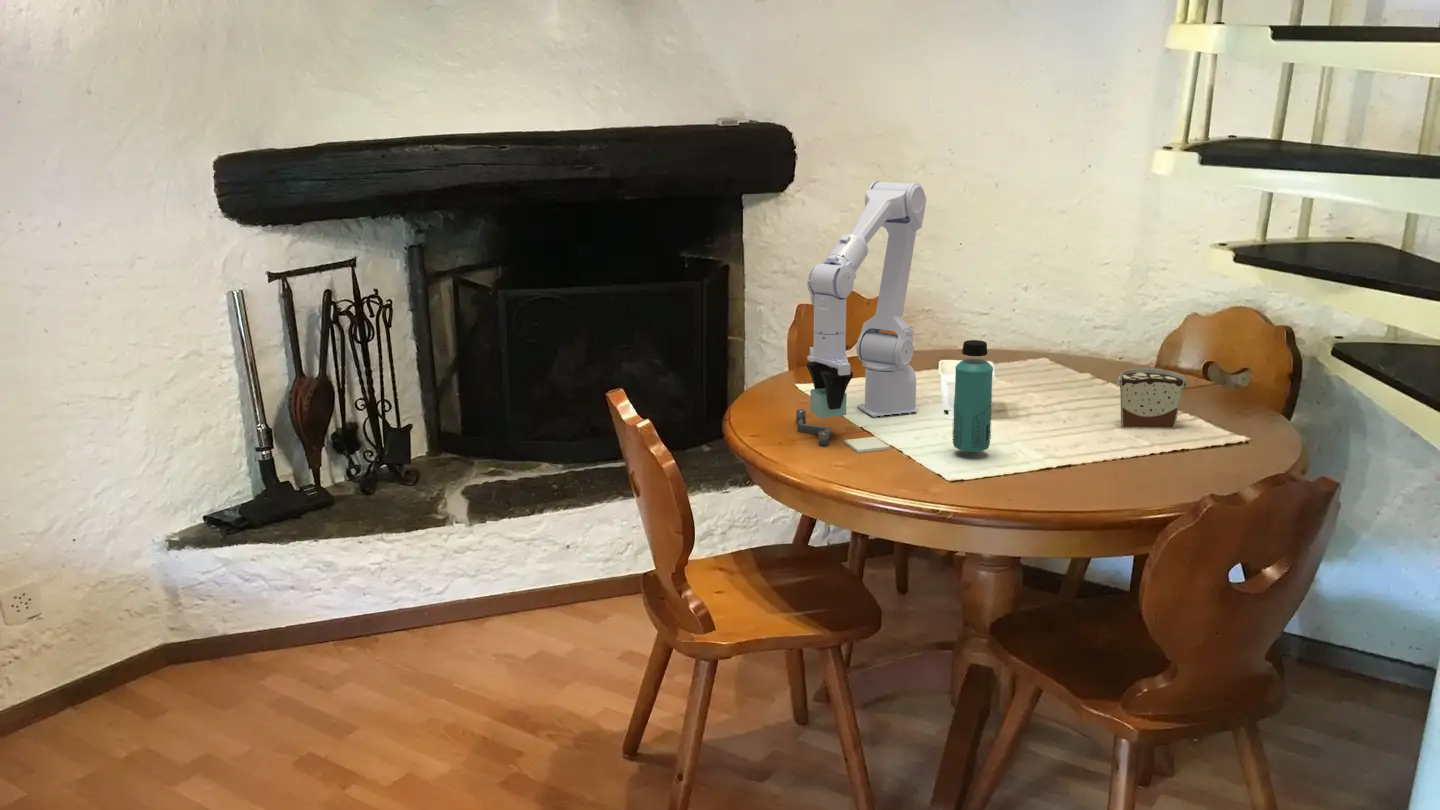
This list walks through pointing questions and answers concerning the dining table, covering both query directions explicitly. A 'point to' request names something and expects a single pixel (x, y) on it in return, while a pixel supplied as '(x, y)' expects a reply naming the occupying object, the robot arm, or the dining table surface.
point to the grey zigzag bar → (813, 428)
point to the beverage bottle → (972, 399)
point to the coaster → (866, 444)
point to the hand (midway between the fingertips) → (828, 404)
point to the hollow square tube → (825, 404)
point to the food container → (1150, 398)
